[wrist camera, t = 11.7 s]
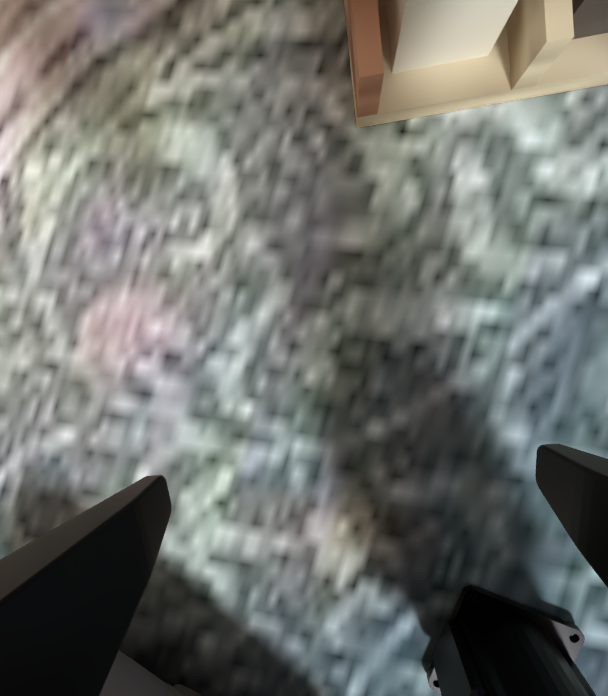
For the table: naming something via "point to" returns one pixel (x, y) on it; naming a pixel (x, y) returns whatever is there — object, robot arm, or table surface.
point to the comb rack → (479, 61)
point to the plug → (443, 30)
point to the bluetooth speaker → (138, 681)
